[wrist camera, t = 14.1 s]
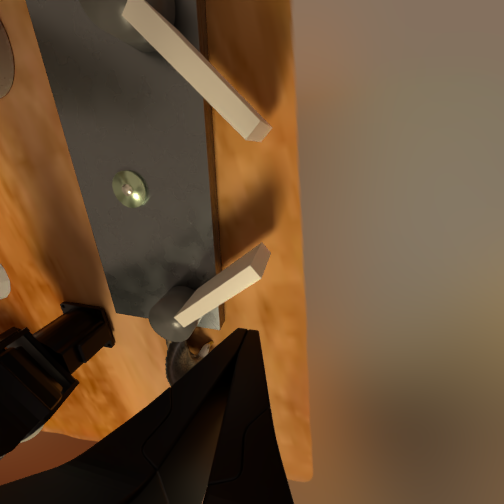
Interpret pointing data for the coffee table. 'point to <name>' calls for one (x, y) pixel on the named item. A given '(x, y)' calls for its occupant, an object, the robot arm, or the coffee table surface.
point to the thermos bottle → (5, 63)
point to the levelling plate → (137, 153)
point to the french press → (4, 283)
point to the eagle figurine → (181, 359)
